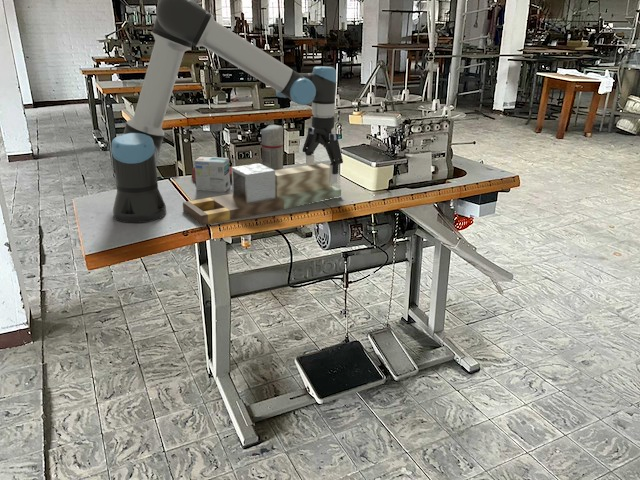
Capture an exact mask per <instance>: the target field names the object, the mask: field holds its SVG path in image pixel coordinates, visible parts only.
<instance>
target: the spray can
mask: <svg viewBox="0 0 640 480" xmlns="http://www.w3.org/2000/svg"><path fill="white" fill-rule="evenodd" d="M261 159H262V160H261V164H262V165H264V166H266V167H269V168H271V169H273V170H280V169H284V127H283V125H278V124H269V125H267V126H266V127H265V128H262V129H261Z"/></svg>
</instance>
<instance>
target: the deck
mask: <svg viewBox="0 0 640 480" xmlns="http://www.w3.org/2000/svg"><path fill="white" fill-rule="evenodd" d="M339 196H341V197H342V189H340V188H339V187H336V186H334V185H332V187H328V188H323V189H317V190H312V191H306V192H301V193H295V194H290V195H284V196H279V197H277V196H275V200H270V201H264V202H259V203H253V204H248V205H247V204H246V195H241V196H235V197H234V196H233V194H232V193H230V194H223V195H218V196H212V197H206V198H205V197H204V198H198V199H194V200H188V201H183V202H182V210H183V213H185V214H186V215H187V216H189V217H190V218H192V219H193V220H194V221H196V222H197V223H198V224H199V225H201V226H206V225H210V224H217V223H220V222H221V223H222V222H227V221H231V220H237V219H242V218H246V217H251V216H256V215H262V214H266V213H267V214H268V213H270V212H271V211H272V212H276V210H277V211H281V209H282V210H287V209H292V208H296V206H297V207H300V206H299V205H302V206H305V205H304V204H307V205H310V204H309V203H312V202H316V201H320V200H325V199H330V198H334V197H339ZM312 204H313V203H312Z"/></svg>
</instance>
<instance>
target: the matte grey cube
mask: <svg viewBox="0 0 640 480" xmlns="http://www.w3.org/2000/svg"><path fill="white" fill-rule="evenodd" d="M231 167H232V178H231V186H232V187H231V189H232V191H231V192H232V193H231V194H233V196H234V197H235V196H241V195H246V204H247V205H248V204H253V203H259V202H264V201H270V200H275V170H273V169H271V168H269V167H266V166H264V165H262V163H251V164H245V165H238V166H231Z"/></svg>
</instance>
